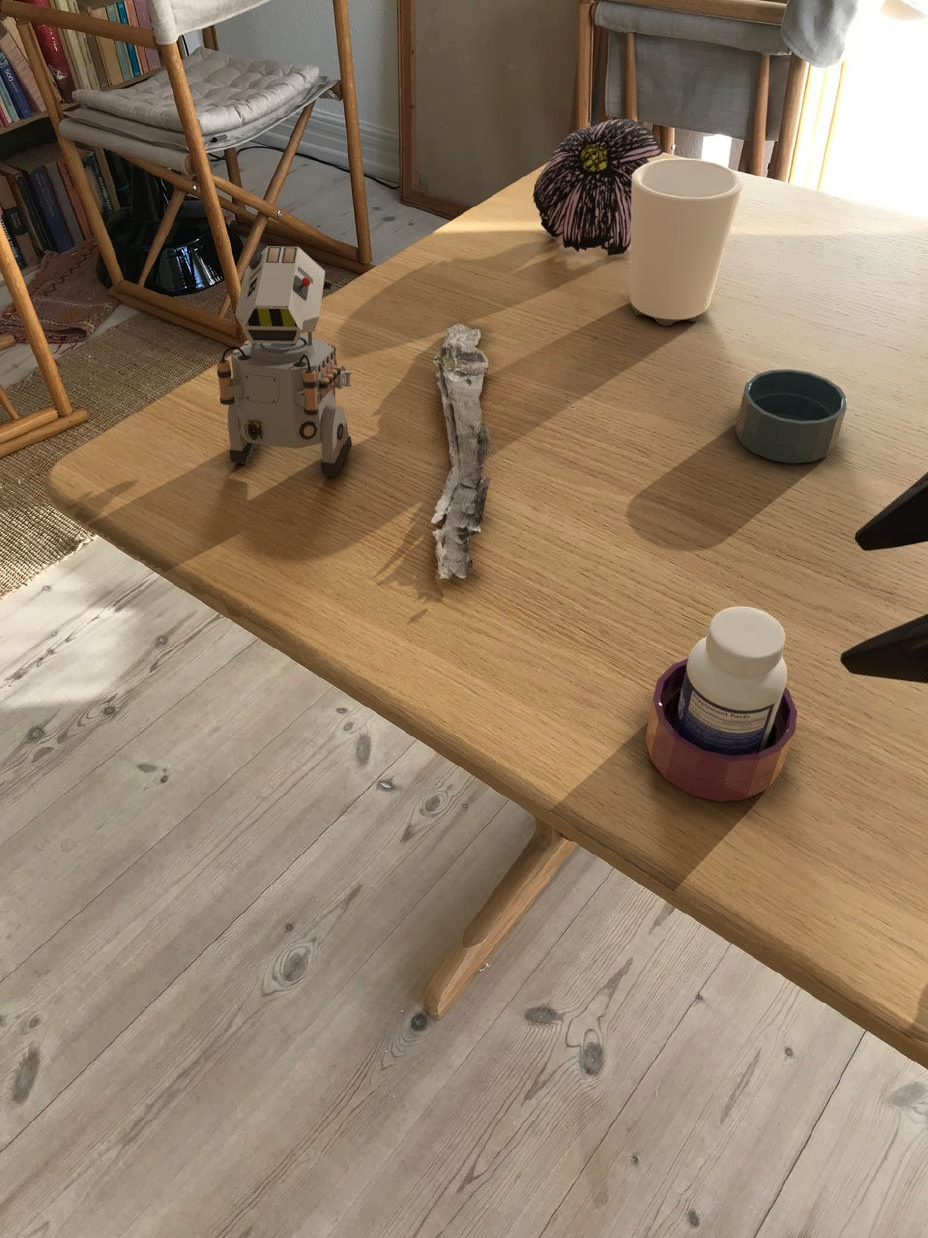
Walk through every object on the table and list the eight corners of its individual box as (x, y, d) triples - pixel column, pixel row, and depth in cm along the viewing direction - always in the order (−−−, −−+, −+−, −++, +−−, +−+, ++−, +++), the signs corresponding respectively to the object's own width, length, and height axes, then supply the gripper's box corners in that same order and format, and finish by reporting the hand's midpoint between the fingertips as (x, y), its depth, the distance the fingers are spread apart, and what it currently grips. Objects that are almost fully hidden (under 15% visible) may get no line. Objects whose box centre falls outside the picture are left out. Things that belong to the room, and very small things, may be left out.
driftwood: (491, 328, 97) (440, 333, 97) (489, 303, 95) (437, 308, 96) (493, 581, 70) (422, 586, 71) (489, 554, 69) (417, 559, 69)
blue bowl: (837, 419, 85) (849, 378, 82) (831, 473, 80) (844, 430, 77) (741, 404, 87) (750, 362, 84) (729, 455, 81) (738, 413, 79)
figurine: (373, 412, 86) (359, 242, 76) (330, 492, 78) (308, 314, 68) (273, 400, 88) (246, 231, 77) (221, 476, 80) (183, 300, 69)
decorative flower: (502, 146, 104) (599, 70, 108) (500, 228, 115) (589, 157, 119) (607, 222, 100) (704, 140, 104) (595, 300, 111) (683, 224, 115)
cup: (722, 292, 102) (746, 162, 93) (715, 339, 95) (740, 204, 86) (624, 281, 103) (638, 153, 94) (610, 327, 97) (624, 193, 88)
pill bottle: (697, 698, 63) (725, 583, 56) (777, 739, 60) (816, 624, 53) (653, 752, 60) (677, 638, 53) (736, 798, 57) (771, 684, 50)
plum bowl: (787, 715, 62) (802, 671, 59) (774, 819, 57) (790, 776, 54) (658, 685, 64) (667, 641, 61) (633, 783, 58) (642, 740, 56)
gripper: (1103, 201, 43) (782, 382, 53) (1161, 438, 30) (727, 615, 41) (1214, 394, 46) (893, 529, 57) (1307, 678, 34) (874, 784, 44)
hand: (852, 599), depth 50 cm, fingers open, 9 cm apart
